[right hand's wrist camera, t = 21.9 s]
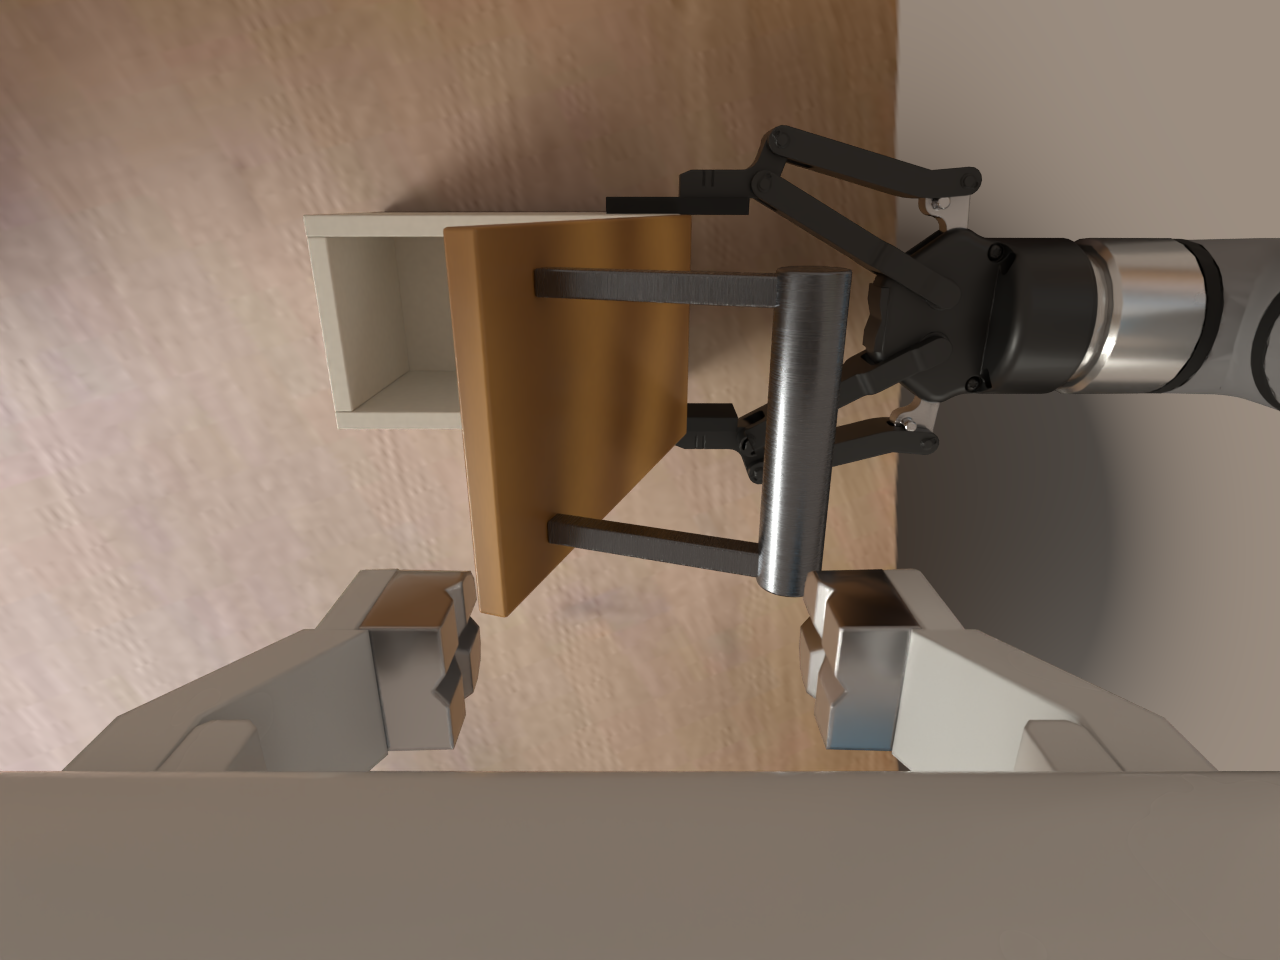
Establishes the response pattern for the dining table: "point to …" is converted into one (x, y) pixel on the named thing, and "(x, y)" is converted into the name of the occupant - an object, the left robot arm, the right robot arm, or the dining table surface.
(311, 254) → the chest
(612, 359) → the lid
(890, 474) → the dining table surface
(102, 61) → the dining table surface
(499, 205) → the dining table surface
